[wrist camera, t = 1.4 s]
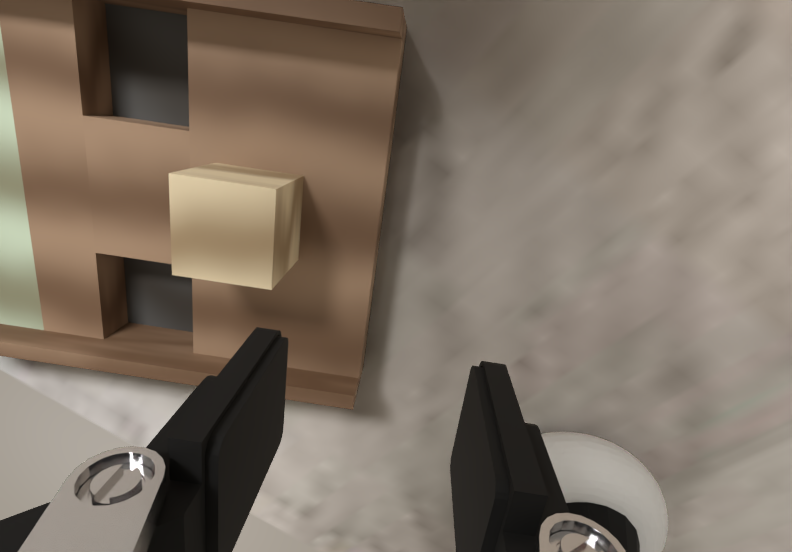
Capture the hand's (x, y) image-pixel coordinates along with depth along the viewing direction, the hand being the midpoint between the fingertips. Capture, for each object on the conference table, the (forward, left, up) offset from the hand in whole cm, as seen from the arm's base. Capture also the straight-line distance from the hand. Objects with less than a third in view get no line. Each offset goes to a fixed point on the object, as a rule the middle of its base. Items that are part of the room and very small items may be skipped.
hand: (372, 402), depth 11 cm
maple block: (0, -8, -16) cm, 18 cm away
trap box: (0, -15, -19) cm, 25 cm away
